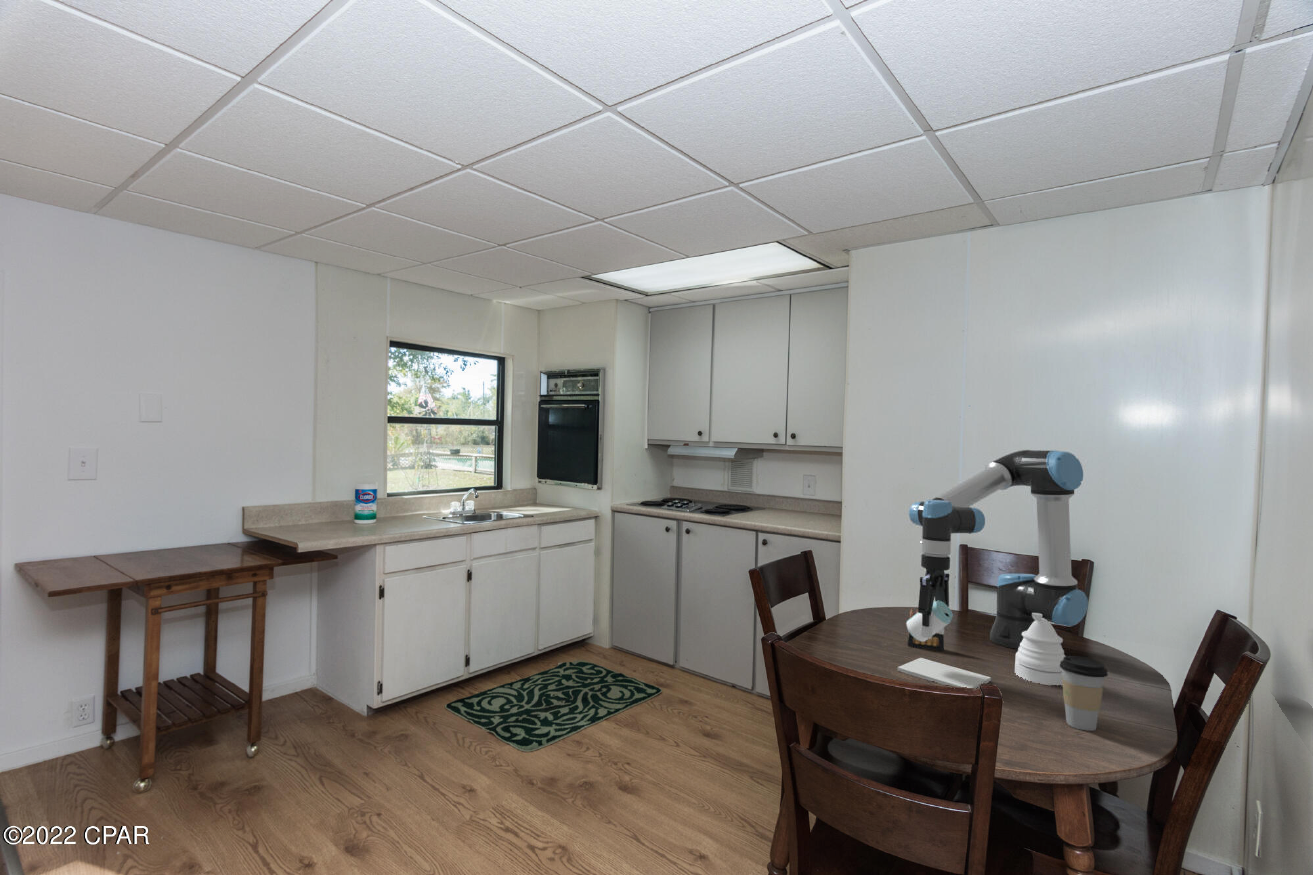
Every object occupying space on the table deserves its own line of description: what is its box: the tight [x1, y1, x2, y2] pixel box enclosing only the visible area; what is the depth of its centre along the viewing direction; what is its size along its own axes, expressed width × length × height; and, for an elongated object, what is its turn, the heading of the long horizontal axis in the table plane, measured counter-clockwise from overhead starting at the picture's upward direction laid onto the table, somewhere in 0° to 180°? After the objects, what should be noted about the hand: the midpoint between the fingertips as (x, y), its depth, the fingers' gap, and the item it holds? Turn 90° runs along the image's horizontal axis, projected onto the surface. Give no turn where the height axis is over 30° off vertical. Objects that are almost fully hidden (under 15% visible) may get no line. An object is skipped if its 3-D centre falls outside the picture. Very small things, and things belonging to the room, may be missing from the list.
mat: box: [897, 657, 992, 690], centre depth 180 cm, size 20×14×1 cm
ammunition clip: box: [906, 608, 945, 652], centre depth 205 cm, size 11×2×12 cm, turn 73°
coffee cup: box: [1059, 655, 1109, 732], centre depth 150 cm, size 9×9×15 cm
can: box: [906, 601, 954, 642], centre depth 183 cm, size 7×7×12 cm
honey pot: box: [1014, 613, 1066, 687], centre depth 182 cm, size 13×13×18 cm
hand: (932, 635), depth 182 cm, fingers closed on can, 7 cm apart
